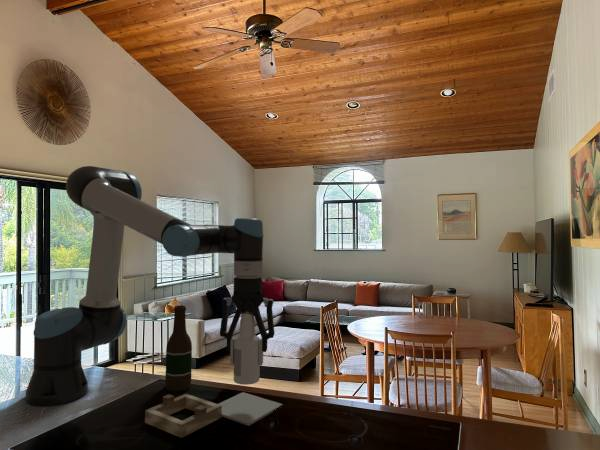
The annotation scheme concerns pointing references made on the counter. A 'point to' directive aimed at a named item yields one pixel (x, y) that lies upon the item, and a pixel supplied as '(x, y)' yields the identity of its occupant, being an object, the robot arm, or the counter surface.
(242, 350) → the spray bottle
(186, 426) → the wooden square frame
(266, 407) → the mat
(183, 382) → the beer bottle
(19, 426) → the counter surface
